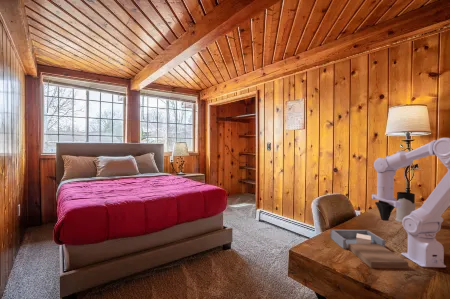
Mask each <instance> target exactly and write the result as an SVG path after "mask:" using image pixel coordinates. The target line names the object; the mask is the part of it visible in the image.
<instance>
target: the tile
mask: <svg viewBox="0 0 450 299" xmlns="http://www.w3.org/2000/svg"><path fill="white" fill-rule="evenodd" d="M356 243H357V244H371V236H369V235H363V234H357V236H356Z"/></svg>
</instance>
